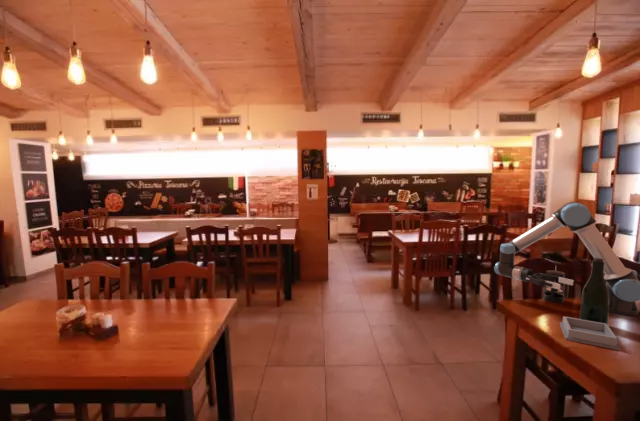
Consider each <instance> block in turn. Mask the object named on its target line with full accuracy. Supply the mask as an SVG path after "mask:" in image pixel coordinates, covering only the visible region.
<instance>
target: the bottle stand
mask: <svg viewBox="0 0 640 421" xmlns="http://www.w3.org/2000/svg"><path fill="white" fill-rule="evenodd" d="M559 326H560V328H561V332H562V334H563V336H564V339H565V340H566V341H571V342H576V343H581V344H585V345H590V346H595V347H600V348H606V349H610V350H616V351H621V347H620V345H619V344H618V337H617V336H616V335H615V334H614V332H613V331H612V329H611V328H610V326H609V324H608V325H607V324H605V323H600V322H594V321H588V320H582V319H580V318H576V317H570V316H562V321H560V322H559Z"/></svg>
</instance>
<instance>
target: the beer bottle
mask: <svg viewBox="0 0 640 421" xmlns="http://www.w3.org/2000/svg"><path fill="white" fill-rule="evenodd" d="M604 276H605V273H604V262H603V259H601V258H594V257H593V260H592V261H591V272H590V276H589V278H588V280H587V282H586V283H585V285H584V286H583V289H582V293H581V301H580V311H579V312H580V313H579V319H582V320H588V321H594V322H600V323H605V324H607V325H608V326H609V318H610V317H609V316H610V315H609V314H610V312H609V302H610V296H609V291H608V288H607V286H606V280H605V279H604Z"/></svg>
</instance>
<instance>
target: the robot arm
mask: <svg viewBox="0 0 640 421" xmlns="http://www.w3.org/2000/svg"><path fill="white" fill-rule="evenodd" d="M596 224H597V221H596V219H595V218H594V217H593V215H592V214H591V211H590V209H589V208H588V207H587V206H586V205H585V204H582V203H579V202H575V201H570V202H567V203H565V204H564V205H562V206H561V207H560V208H559V209H556V210H555V211H554V212H553V213H552V214H551V216H550V217H548V218H546V219H545V220H543V221H542V222H540V223H539V224H537V225H535V226H534V227H532V228H530V229H529V230H527V231H526V232H524V233H523V234H521V235H519V236H517V237H515V238H514V239H512V240H511V241H509V242H507V243H501V244H500V247H499V261H497V262H496V263H495V265H494V266H493V270H494V273H495V274H496V275H499V276H502V277H506V278H509V279H514V280H517V281H522V282H525V283H532V284H535V285H536V286H539V287H542V288H545V286H546V288H547V287H551V288H555V289H558V290H560V289H561V286H562V285H561V284H557V283H553V282H555V281H558V283H564V285H569V286H574V282H575V280H574V279H569V278H565V277H564V278H561V277H560V275H558V276H556V275H549V274H547V273H543V272H538V273H537V272H536V273H535V272H534V270H533V269H531V268H526V267H523V266H518V265H515V254H517V253H519V252H521V251H522V250H525V249H526V248H528V247H529V246H531V245H532V244H535V243H536V242H539V240H541V239H543V238H545V237H547V236H548V235H550V234H552V233H553V232H555V231H557V230H559V229H561V228H566V227H568V229H569V230H570V231H571V233H575V234H577V236H578V237H579V239H580V241H581V242H582V243H583V245H584V246H585V247H586V249H587V251H588V252H589V253H590V255H591V256H592V257H593V259H594V258H601V259H603V262H604V280H605V283H606V286H607V288H608V291H609V296H610V302H609V313H612V314H616V315H621V316H629V317H630V316H631V317H635V316H639V308H638V305H637V302H638V301H640V280H639V278H638V272H637V271H636V270H634V269H631V268H628V267H625V265H624V264H623V262H622V261H621V260H620V258H619V257H618V255H617V254H616V252H615V251H614V250H613V249H612V247H611V246H610V245H609V243H608V242H607V241H606V239H605V238H604V236H603V235H602V233H601V232H600V230H599V229H598V228H597V227H596ZM546 280H548V281H546ZM545 281H546V282H545ZM549 281H551V282H549Z"/></svg>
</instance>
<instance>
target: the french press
mask: <svg viewBox="0 0 640 421" xmlns="http://www.w3.org/2000/svg"><path fill="white" fill-rule="evenodd" d="M551 263H552V264H554V265H555V270H551V269H550V270H546V271H545V272H546V274H549V275H556V276H558V275H560V277H561V278H565V275H566V273H565V272H564V271H559V270H557V266H558V264H559V265H560V264H561V262H560V261H551ZM546 281H548V280H545V282H546ZM549 282H553V283H557V284H561V286H563V287H562V289H561V288H560V290H558V289H555V288H551V287H547V286H545V287H544V297H543V300H545V301H547V302H549V303H552V304H553V303H554V304H563V303H564V302H565V300H564V299H568V298H569V286H570V285H568V284H566V285H567V286H566V296H565V294H564V293H565V284H564V283H560V282H558V281H549Z"/></svg>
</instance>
